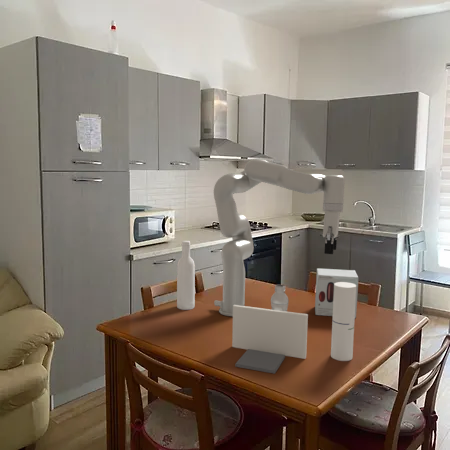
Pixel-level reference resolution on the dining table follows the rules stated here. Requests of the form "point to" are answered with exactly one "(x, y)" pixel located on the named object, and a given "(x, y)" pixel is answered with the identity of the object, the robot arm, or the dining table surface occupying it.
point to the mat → (260, 361)
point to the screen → (270, 331)
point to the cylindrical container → (343, 321)
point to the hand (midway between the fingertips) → (330, 251)
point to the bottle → (185, 279)
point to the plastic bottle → (279, 299)
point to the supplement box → (331, 288)
